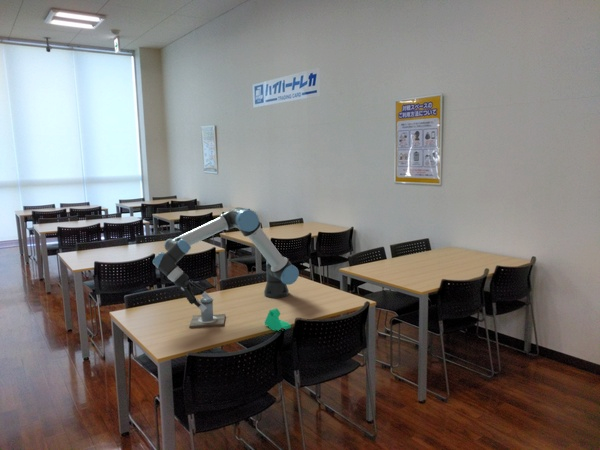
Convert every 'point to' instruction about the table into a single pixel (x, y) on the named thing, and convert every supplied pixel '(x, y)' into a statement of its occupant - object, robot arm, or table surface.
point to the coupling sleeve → (208, 313)
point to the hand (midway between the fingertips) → (208, 305)
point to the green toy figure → (276, 321)
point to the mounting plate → (216, 322)
